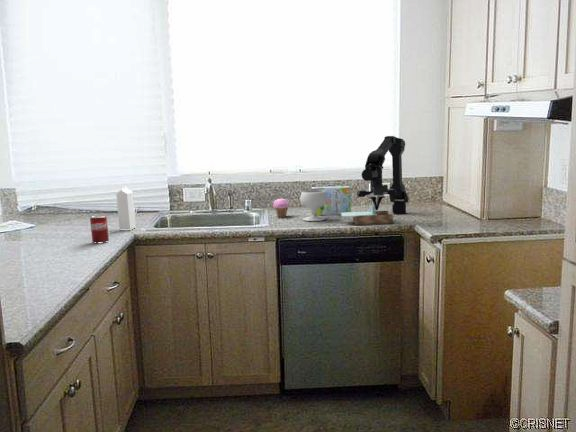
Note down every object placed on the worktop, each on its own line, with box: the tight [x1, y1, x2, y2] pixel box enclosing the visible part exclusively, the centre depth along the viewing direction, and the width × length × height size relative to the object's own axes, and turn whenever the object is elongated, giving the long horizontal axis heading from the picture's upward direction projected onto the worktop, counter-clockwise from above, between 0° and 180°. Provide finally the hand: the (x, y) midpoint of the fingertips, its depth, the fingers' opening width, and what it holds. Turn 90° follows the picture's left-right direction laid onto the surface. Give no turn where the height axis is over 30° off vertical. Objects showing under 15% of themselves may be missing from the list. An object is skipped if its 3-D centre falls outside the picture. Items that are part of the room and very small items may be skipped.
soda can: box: [89, 214, 110, 243], centre depth 269 cm, size 7×7×12 cm
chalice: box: [299, 189, 327, 222], centre depth 305 cm, size 14×14×15 cm
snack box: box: [310, 185, 352, 216], centre depth 319 cm, size 21×6×15 cm, turn 84°
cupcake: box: [272, 198, 290, 218], centre depth 318 cm, size 9×9×10 cm
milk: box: [115, 185, 137, 230], centre depth 297 cm, size 6×6×22 cm
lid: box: [341, 204, 377, 218], centre depth 291 cm, size 17×10×4 cm, turn 91°
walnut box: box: [352, 210, 394, 226], centre depth 292 cm, size 18×12×5 cm, turn 91°
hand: (376, 210), depth 291 cm, fingers closed
